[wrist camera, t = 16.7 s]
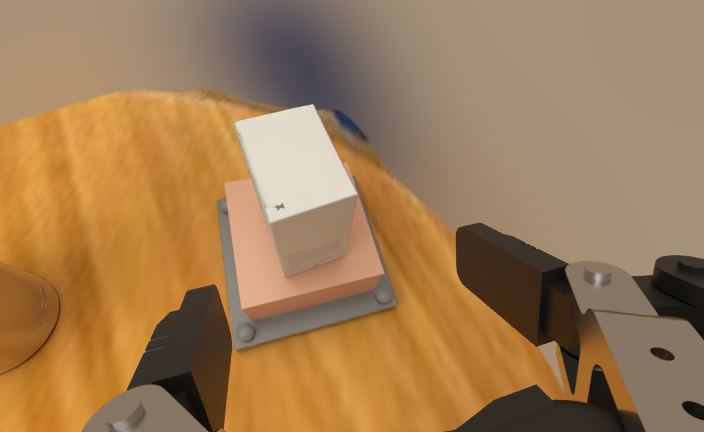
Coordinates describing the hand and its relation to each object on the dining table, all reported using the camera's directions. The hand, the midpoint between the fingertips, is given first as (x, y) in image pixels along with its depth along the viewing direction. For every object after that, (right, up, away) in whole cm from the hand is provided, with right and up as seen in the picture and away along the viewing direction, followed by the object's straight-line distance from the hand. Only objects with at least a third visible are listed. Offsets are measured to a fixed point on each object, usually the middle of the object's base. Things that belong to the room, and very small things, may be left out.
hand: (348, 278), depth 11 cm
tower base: (-5, -2, +26) cm, 26 cm away
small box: (-4, +1, +19) cm, 19 cm away
